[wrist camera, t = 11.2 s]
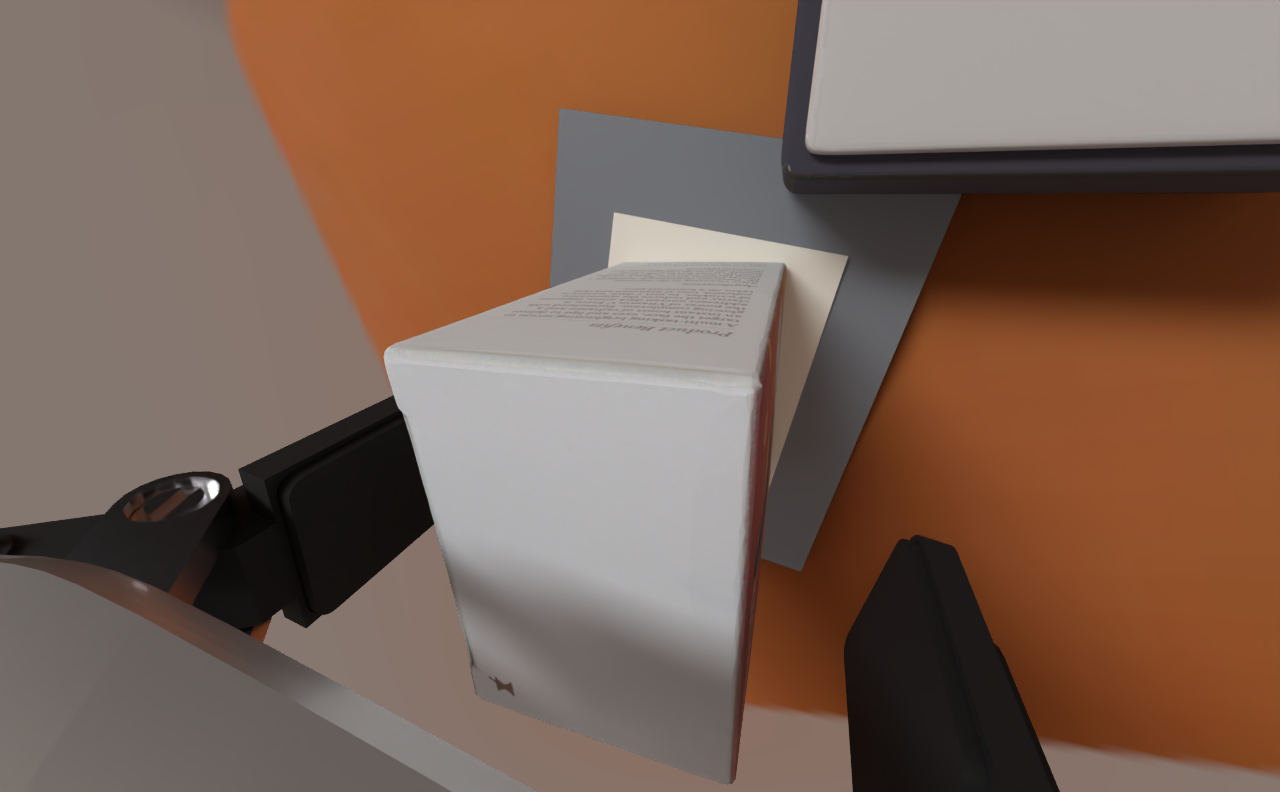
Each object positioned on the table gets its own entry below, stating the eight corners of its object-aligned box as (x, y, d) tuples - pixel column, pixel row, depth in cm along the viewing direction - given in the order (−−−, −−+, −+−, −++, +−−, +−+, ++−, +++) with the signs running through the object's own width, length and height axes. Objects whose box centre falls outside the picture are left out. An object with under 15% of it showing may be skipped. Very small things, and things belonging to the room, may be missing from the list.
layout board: (967, 166, 12) (975, 165, 12) (800, 561, 19) (801, 573, 18) (568, 111, 15) (557, 107, 14) (545, 476, 22) (538, 484, 21)
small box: (770, 476, 17) (737, 802, 8) (631, 457, 19) (471, 708, 10) (791, 256, 14) (774, 380, 5) (620, 256, 16) (365, 348, 6)
